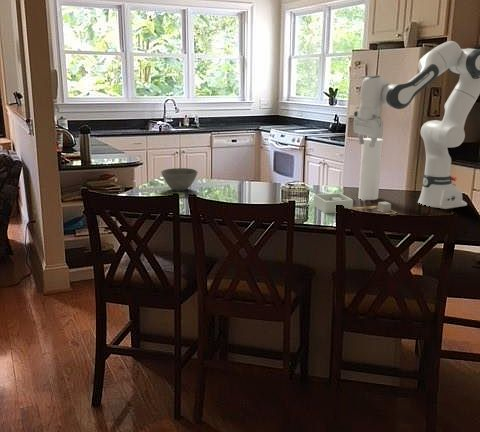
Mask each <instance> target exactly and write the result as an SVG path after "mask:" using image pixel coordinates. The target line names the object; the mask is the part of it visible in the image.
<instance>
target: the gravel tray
mask: <svg viewBox="0 0 480 432" xmlns="http://www.w3.org/2000/svg"><path fill="white" fill-rule="evenodd" d="M373 208H378V205H375V206H374V205H371V206H361V207H360V206H358V207H357V206H356V207H353V210H357V209H359V210H362V209H373ZM390 212H392V213H386V214H395V213H397V214H398V212H397V211H394V210H393V209H391V211H390Z"/></svg>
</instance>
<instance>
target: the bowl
mask: <svg viewBox="0 0 480 432" xmlns="http://www.w3.org/2000/svg"><path fill="white" fill-rule="evenodd" d="M160 173H161V175H162V177H163V180H164V182H165V183H166V184H167V186H168V187H169V188H170V189H171V190H173V191H177V192H182V191H186V190H187V189H189V188H190V187H191V186H192V185H193V183H194V181H195V180H196V178H197V175H198V173H199V172H198V170H196V169H194V168H186V167H184V168H183V167H181V168H177V167H176V168H174V167H173V168H167V169H163V170H161V172H160Z"/></svg>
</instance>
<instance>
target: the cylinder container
mask: <svg viewBox="0 0 480 432" xmlns="http://www.w3.org/2000/svg"><path fill="white" fill-rule="evenodd" d="M363 140H364V144H361V158H360V171H359V184H358V185H359V186H358V197H357V199H358V198H359V199H361V200H360V201H375V200H378V199H379V192H380V191H379V190H380V180H381V179H380V177H381V167H382V166H381V165H382V157H383V156H382V153H383V144H384V139H383V138H377V141H376V143H375V147H374V148H371V147H369V144H370V143H371V137H363ZM359 199H358V200H359Z"/></svg>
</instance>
